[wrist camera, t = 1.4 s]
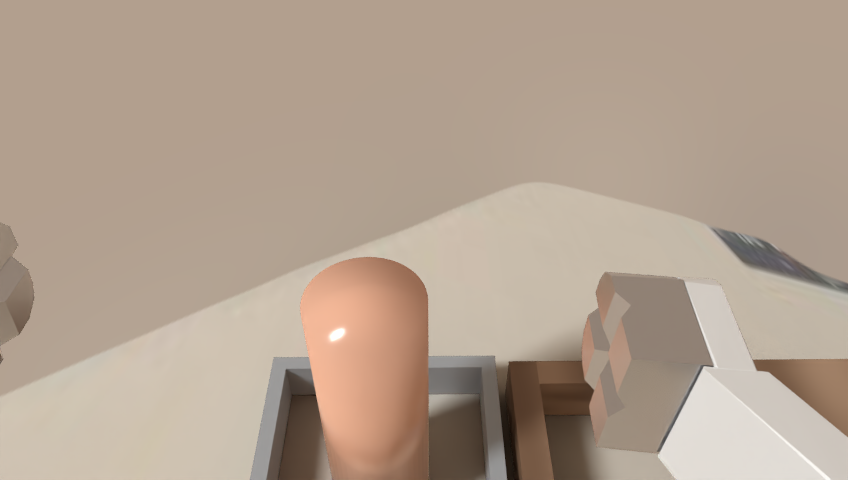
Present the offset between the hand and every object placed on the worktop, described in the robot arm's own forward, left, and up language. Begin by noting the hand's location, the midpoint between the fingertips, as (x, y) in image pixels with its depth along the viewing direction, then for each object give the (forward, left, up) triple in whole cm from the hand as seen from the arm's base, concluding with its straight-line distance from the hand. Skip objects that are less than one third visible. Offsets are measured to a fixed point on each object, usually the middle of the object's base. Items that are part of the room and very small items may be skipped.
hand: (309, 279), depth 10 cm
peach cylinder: (+1, -12, -27) cm, 30 cm away
